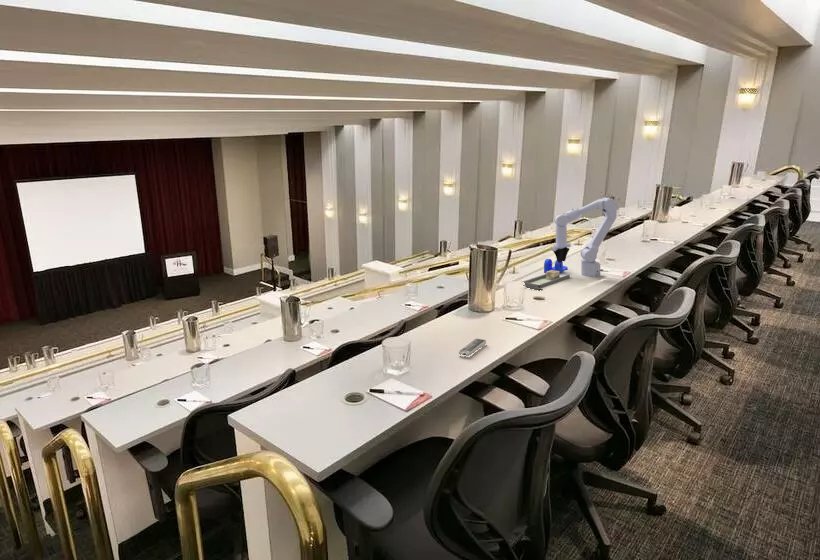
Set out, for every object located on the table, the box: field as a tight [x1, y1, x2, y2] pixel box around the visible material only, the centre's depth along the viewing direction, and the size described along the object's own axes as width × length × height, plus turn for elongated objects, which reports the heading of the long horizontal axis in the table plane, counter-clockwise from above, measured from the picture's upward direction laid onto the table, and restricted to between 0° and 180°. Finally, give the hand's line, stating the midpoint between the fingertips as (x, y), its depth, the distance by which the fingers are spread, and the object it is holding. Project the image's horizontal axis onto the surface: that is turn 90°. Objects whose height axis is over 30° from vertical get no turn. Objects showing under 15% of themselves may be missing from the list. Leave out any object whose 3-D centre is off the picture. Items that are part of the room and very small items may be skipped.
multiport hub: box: [458, 338, 487, 356], centre depth 196 cm, size 4×14×2 cm, turn 146°
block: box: [545, 270, 561, 280], centre depth 283 cm, size 5×5×4 cm
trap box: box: [522, 273, 571, 292], centre depth 279 cm, size 12×27×3 cm, turn 130°
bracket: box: [543, 258, 568, 274], centre depth 301 cm, size 18×8×9 cm, turn 144°
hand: (561, 261), depth 286 cm, fingers open, 3 cm apart
